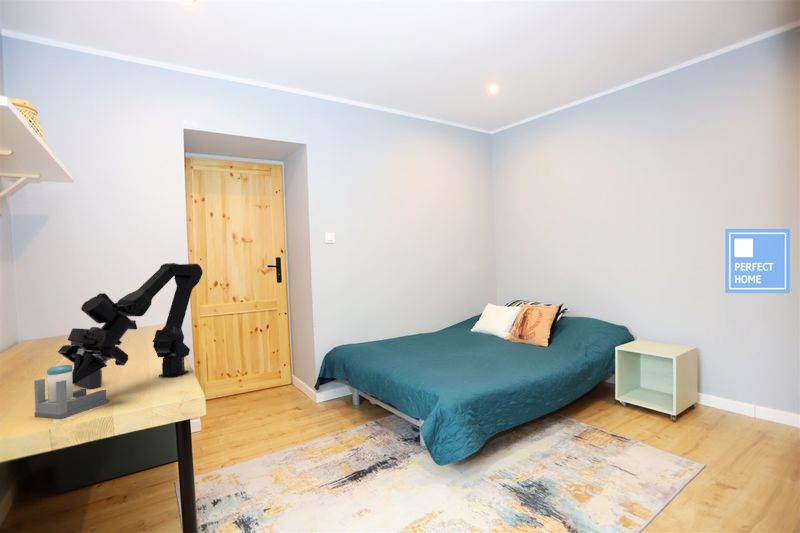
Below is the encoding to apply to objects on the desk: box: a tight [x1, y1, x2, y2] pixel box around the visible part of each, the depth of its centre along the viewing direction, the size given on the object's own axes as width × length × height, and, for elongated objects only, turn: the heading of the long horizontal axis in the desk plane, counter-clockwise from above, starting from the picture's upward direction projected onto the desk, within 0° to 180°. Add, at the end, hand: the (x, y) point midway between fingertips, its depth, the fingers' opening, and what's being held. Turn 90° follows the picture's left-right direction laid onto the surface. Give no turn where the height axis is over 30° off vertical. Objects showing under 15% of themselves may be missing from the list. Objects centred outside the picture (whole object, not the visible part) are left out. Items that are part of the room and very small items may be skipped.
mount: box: [33, 378, 110, 420], centre depth 103 cm, size 12×9×9 cm
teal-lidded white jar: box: [46, 364, 75, 403], centre depth 100 cm, size 5×5×10 cm
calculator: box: [70, 341, 103, 390], centre depth 124 cm, size 11×4×15 cm, turn 59°
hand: (71, 383), depth 102 cm, fingers closed, pressing on teal-lidded white jar
